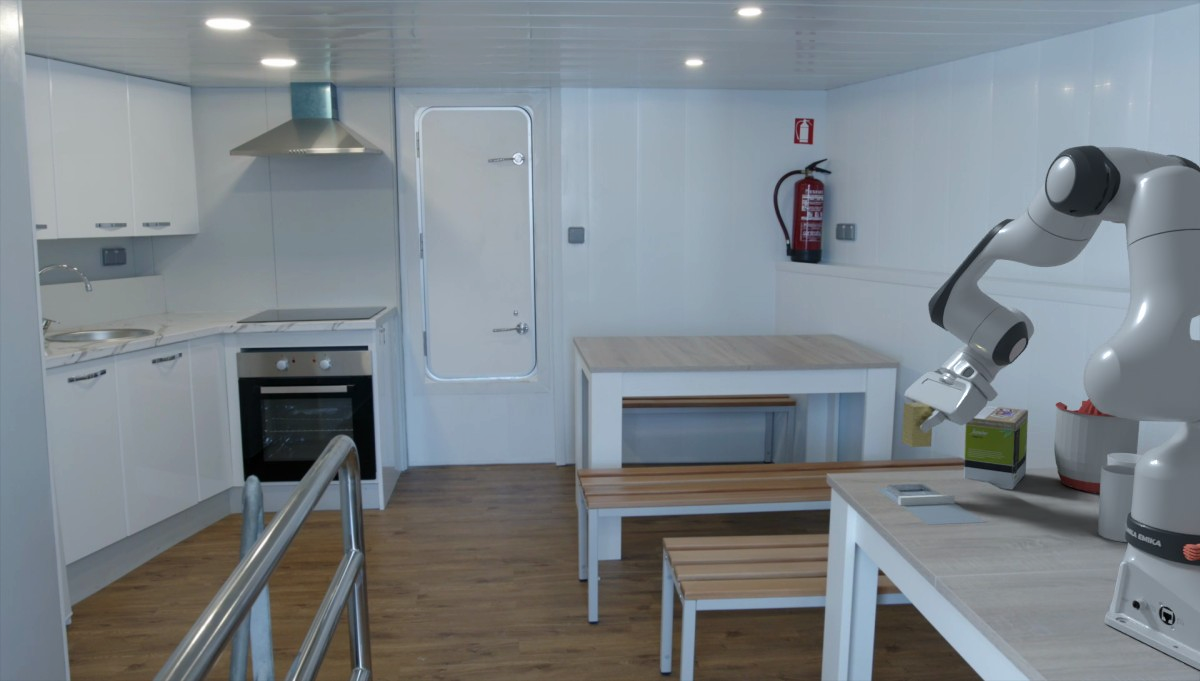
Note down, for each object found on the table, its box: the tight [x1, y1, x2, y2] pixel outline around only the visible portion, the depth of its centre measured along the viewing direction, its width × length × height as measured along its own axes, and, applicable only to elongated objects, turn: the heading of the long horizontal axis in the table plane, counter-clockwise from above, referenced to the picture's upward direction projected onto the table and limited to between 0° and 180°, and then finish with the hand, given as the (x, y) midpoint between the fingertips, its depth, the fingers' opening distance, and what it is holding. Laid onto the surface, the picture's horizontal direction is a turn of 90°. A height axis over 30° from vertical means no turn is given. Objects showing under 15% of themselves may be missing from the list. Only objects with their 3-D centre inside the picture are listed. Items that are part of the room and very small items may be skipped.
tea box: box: [963, 405, 1029, 490], centre depth 187 cm, size 15×10×15 cm
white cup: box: [1107, 453, 1143, 468], centre depth 168 cm, size 8×8×10 cm
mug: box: [1097, 465, 1135, 543], centre depth 153 cm, size 10×7×12 cm, turn 150°
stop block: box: [901, 402, 933, 448], centre depth 171 cm, size 4×4×8 cm
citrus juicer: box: [1053, 398, 1140, 494], centre depth 182 cm, size 16×17×20 cm
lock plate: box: [875, 487, 987, 526], centre depth 167 cm, size 22×11×2 cm, turn 7°
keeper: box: [886, 483, 942, 498], centre depth 173 cm, size 8×8×1 cm
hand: (914, 426), depth 171 cm, fingers closed on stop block, 4 cm apart
